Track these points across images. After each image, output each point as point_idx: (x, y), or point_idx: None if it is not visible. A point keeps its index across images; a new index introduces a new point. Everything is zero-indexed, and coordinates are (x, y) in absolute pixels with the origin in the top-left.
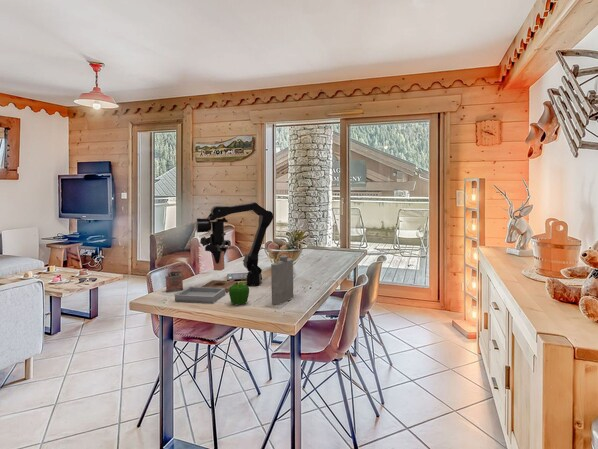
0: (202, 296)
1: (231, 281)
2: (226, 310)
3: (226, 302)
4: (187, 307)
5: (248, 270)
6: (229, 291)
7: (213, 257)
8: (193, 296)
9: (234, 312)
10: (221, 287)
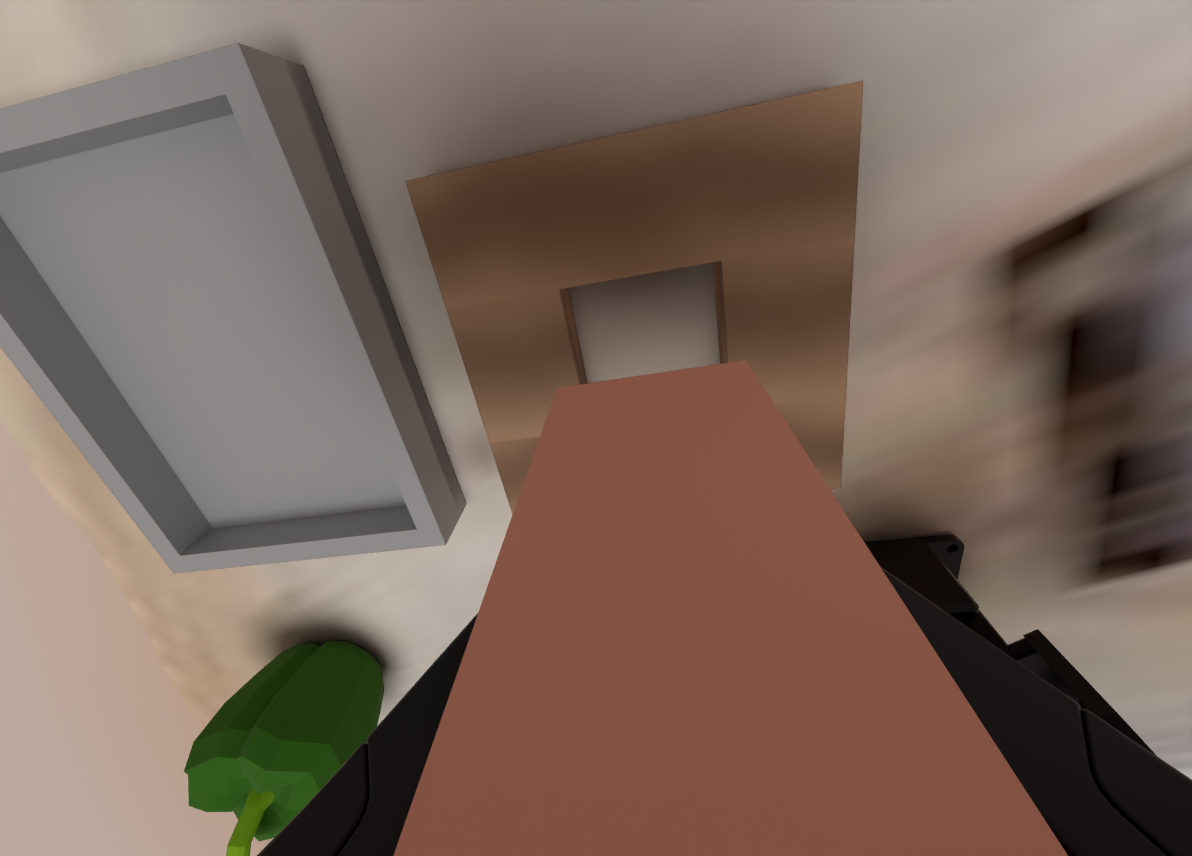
0: (110, 489)
1: (815, 426)
2: (195, 651)
3: (307, 594)
4: (9, 401)
5: (1013, 657)
6: (204, 731)
7: (472, 644)
8: (50, 400)
9: (205, 693)
10: (522, 449)
